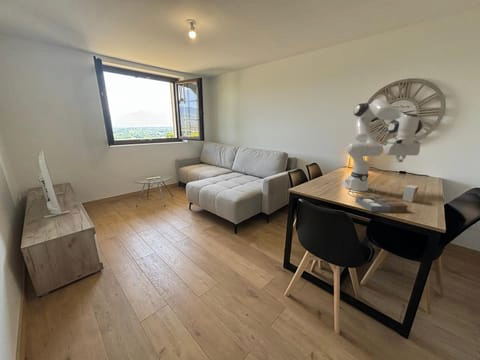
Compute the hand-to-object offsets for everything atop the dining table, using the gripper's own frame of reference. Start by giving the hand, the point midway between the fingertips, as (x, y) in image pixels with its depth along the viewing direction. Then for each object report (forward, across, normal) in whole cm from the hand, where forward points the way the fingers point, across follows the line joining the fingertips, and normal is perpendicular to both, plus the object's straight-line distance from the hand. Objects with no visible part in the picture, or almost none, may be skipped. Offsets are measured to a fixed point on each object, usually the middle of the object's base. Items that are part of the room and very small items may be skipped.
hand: (399, 162), depth 128 cm
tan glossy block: (+29, +5, +6) cm, 30 cm away
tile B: (+26, +17, +10) cm, 32 cm away
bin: (+29, +16, +6) cm, 34 cm away
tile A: (+26, +16, +2) cm, 31 cm away
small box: (+30, -19, -6) cm, 36 cm away
